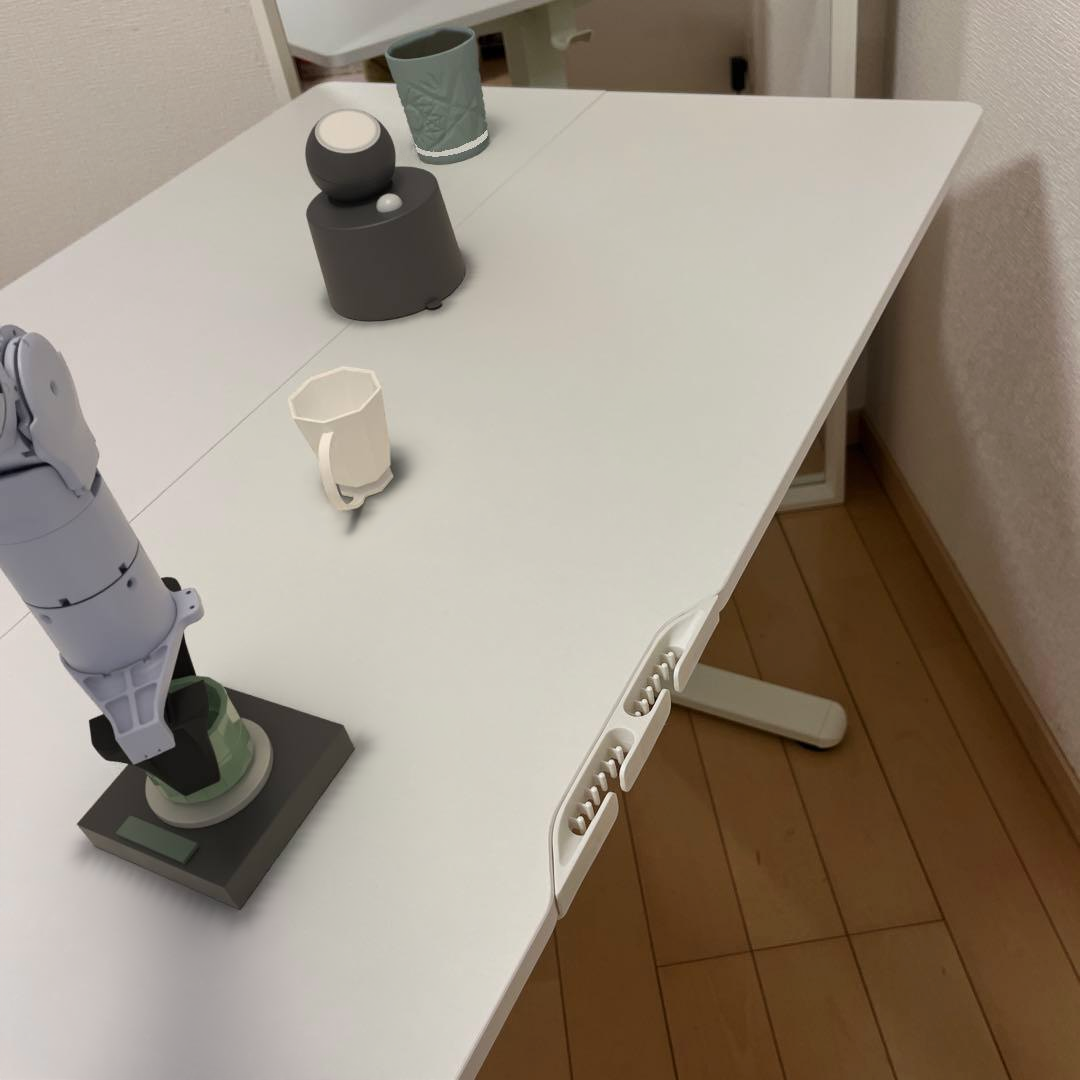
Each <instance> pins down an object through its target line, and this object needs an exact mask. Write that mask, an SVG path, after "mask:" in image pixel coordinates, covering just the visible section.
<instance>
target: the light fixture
mask: <svg viewBox="0 0 1080 1080" xmlns="http://www.w3.org/2000/svg"><path fill="white" fill-rule="evenodd" d="M396 153H397V152H396V147H395V144H394V141H393V137H392V136H391V134H390V133H389V131H388V129H387V128H386V126H385V125H383V123H381V121H380V120H379V119H377V117H375V116H374V115H372V114H371V113H368V112H367V111H364V110H361V109H356V108H341V109H337V110H332V111H330V112H328V113H326V114H325V115H323V116H322V117H321V118H320V119H319V120H318V121H316V123H315V124H314V125H313V127H312V128H311V130H310V132H309V134H308V136H307V139H306V143H305V152H304V157H305V162H306V167H307V170H308V173H309V175H310V177H311V179H312V182H313V183H314V184H315V185H316V187H317V188H318V189H319V190H320V192H319V193H318V194H316V196H314V198H313V199H311V201H310V202H309V203H308V205H307V208H306V210H305V211H306V212H305V217H306V221H307V224H308V228H309V232H310V235H311V240H312V242H313V246H314V249H315V253H316V256H317V260H318V264H319V267H320V272H321V274H322V278H323V281H324V282H323V283H324V285H325V288H326V292H327V293H326V294H327V296H328V300H329V303H330V305H331V307H332V309H333V310H334V311H335V312H336V313H337V314H339V315H341V316H343V317H345V318H349V319H352V320H357V321H368V322H369V321H385V320H391V319H397V318H401V317H406V316H409V315H412V314H415V313H418V312H421V311H423V310H425V309H427V308H428V309H435V308H438V307H440V306H441V305H442V303H443V302H442V300H444V299H446V298H447V297H449V296H450V295H451V294H452V293H453V292H454V291H455V290H456V289H457V288H458V287H459V286H460V284H461V283H462V281H463V279H464V276H465V273H466V266H465V263H464V259H463V256H462V252H461V251H460V246H459V244H458V241H457V237H456V234H455V231H454V228H453V226H452V221H451V219H450V216H449V213H448V209H447V206H446V202H445V199H444V198H443V194H442V191H441V188H440V185H439V182H438V179H437V177H436V176H435V175H434V174H433V173H432V172H431V171H428V170H426V169H424V168H420V167H416V166H403V165H402V166H399V165H398V166H397V165H396V161H397V159H396V157H397V156H396Z"/></svg>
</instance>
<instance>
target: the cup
mask: <svg viewBox="0 0 1080 1080" xmlns="http://www.w3.org/2000/svg"><path fill="white" fill-rule="evenodd" d="M287 403H288V407H289V410H290V414H291V417H292V419H293V421H294V423H295V424H296V426H297V428H298V429H299V431H300V432H301V434H302V436H303V437H304V439H305V441H306V442H307V443H308V445H309V447H310V449H311V450H312V452H313V453H314V455H315V457H316V458H317V460H318V464H319V472H320V476H321V477H320V478H321V480H322V483H323V488H324V490H325V493H326V496H327V499H328V502H330V504H331V506H332V507H333V509H335V510H337V511H349V510H355V509H358V508H360V507H361V506H363V504H364V503H365V500H366V498H367V497H370V496H372V495H375V494H378V493H381V492H383V491H384V490H385V488H386V487H387V486H388V485H389V484H390V482H391V481H392V480H393V479H394V474H393V472H392V469H391V467H390V466H392V465H391V440H390V436H389V435H390V434H389V428H388V423H387V417H386V410H385V404H384V397H383V391H382V387H381V384H380V382H379V380H378V377H377V374H376V372H375V370H374V369H368V368H360V367H353V366H345V365H343V366H339V367H336V368H335V369H331V370H328V371H325V372H322V373H319V374H316V375H312V376H310V377H308V378H307V379H306V380H305V381H304V382H303V383H302V384H301V385H299V387H298V388H297V389H295V391H294V392H293V393H292V394H290V396H289V397H288V398H287ZM337 485H338V486H337ZM338 488H339V489H338ZM339 491H340V493H341V495H342V496H344V497H350V498H352V501H351V502H350V503H345V502H344V500H343V498H342V497H341V495H340V493H339Z"/></svg>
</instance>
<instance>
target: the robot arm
mask: <svg viewBox="0 0 1080 1080" xmlns="http://www.w3.org/2000/svg"><path fill="white" fill-rule="evenodd" d="M96 443H97V440H96V437H95V435H94V434H93V432H92V430H91V429H90V426H89V425H88V424H87V421H86V419H85V416H84V414H83V411H82V407H81V403H80V398H79V394H78V392H77V387H76V384H75V381H74V378H73V375H72V373H71V371H70V368H69V366H68V364H67V361H66V360H65V358H64V356H63V354H62V352H61V351H57V349H56V348H55V346H54V345H53V344H52V343H51V342H50V341H49V339H47V338H46V337H45V336H43V335H42V334H40V333H38V332H33V331H31V332H26V331H25V330H24V329H23V328H21V327H19V326H18V325H14V324H5V325H0V570H1V572H2V573H3V574H4V576H5V577H6V578H7V580H8V581H9V583H10V584H11V586H12V587H13V588H14V590H15V591H16V593H17V594H18V596H19V597H20V598H21V600H22V601H23V603H24V604H25V606H26V607H27V609H28V610H29V611H30V613H31V614H32V615H33V617H34V618H35V620H36V621H37V622H38V624H39V625H40V627H41V629H42V630H43V631H44V632H45V634H46V635H47V636H48V638H49V639H50V641H51V642H52V644H53V645H54V646H55V648H56V649H57V651H58V656H59V659H60V663H61V664H62V666H63V668H64V669H65V671H66V672H67V673H68V674H69V676H70V677H71V678H72V679H73V680H74V682H75V683H76V684H77V685H78V686H79V687H80V688H81V690H82V691H83V692H84V693H85V695H86V696H88V698H89V699H90V700H91V701H92V702H93V703H94V705H95V706H96V707H97V708H98V710H99V711H100V712H101V713H102V714H100V715H97V716H94V717H92V718H90V719H89V720H88V726H89V735H90V741H91V745H92V747H93V748H94V750H95V751H96V752H97V754H98V755H99V756H100V757H101V758H102V759H103V760H105V761H108V762H113V763H120V764H126V765H128V764H130V765H133V766H136V767H139V768H141V769H143V770H145V771H147V772H149V773H151V774H152V775H154V776H155V777H157V778H158V779H160V780H161V781H163V782H164V783H165V784H167V785H168V786H170V787H171V788H173V789H174V790H175V791H177V792H179V793H180V794H182V795H184V796H188V795H190V794H193V793H195V792H197V791H199V790H202V789H204V788H206V787H208V786H211V785H213V784H215V783H217V782H219V781H220V780H221V778H220V771H219V766H218V762H217V758H216V755H215V752H214V749H213V746H212V743H211V741H210V738H209V735H208V732H207V725H208V719H209V698H208V694H207V690H206V686H205V682H204V679H203V680H200V681H198V682H196V683H193V684H191V685H189V686H186V687H184V688H182V689H179V690H177V691H175V692H172V693H169V691H168V690H169V686H170V682H171V680H174V679H178V678H183V677H187V676H192V675H193V676H197V673H196V669H195V666H194V664H193V661H192V656H191V655H190V651H189V648H188V646H187V642H186V637H185V630H186V629H187V627H189V626H191V625H192V624H195V623H197V622H200V621H201V620H202V618H203V617H204V616H205V609H204V606H203V601H202V597H201V596H200V594H199V592H198V590H197V589H196V588H194V587H187V588H183V589H182V586H181V584H180V582H179V581H178V579H177V578H176V577H172V576H164V577H161V575H160V574H159V572H158V571H157V569H156V568H155V567H156V566H154V564H153V562H152V560H151V559H150V557H149V555H148V553H147V552H146V550H145V548H144V547H143V544H142V543H141V541H140V540H139V538H138V537H137V536H138V535H136V533H135V531H134V529H133V527H132V526H131V524H130V522H129V520H128V518H127V516H126V515H125V514H124V512H123V510H122V508H121V507H120V505H119V503H118V502H117V500H116V498H115V497H114V495H113V492H112V491H111V490H110V487H109V486H108V484H107V482H106V480H105V479H104V477H103V476H102V474H101V472H100V470H99V468H98V464H99V460H100V450H99V448H98V447H97V444H96Z"/></svg>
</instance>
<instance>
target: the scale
mask: <svg viewBox="0 0 1080 1080" xmlns="http://www.w3.org/2000/svg"><path fill="white" fill-rule="evenodd" d="M223 687H224V689H225V691H226V692H227V694H228V696H229V697H230V699H231V701H232V703H233V704H234V706H235V708H236V710H237V711H238V713H239V715H240V717H241V718H242V720H243V722H244V724H245V725H246V727H247V729H248V731H249V733H250V735H251V737H252V739H253V742H254V744H253V757H252V759H251V761H250V763H249V765H248V767H247V769H246V771H245V773H244V775H243V776H242V777H241V779H240V780H239V781H238V782H237V783H236V784H235V785H234V786H233V787H232V788H231V789H229V790H228V791H227V792H225V793H224V794H222V795H220V796H218V797H216V798H214V799H211V800H208V801H205V802H200V803H192V804H191V803H190V804H186V803H179V802H173V801H170V800H169V799H167V798H166V797H164V796H163V795H162V794H160V793H159V791H158V790H157V788H156V787H155V785H154V784H153V783H152V781H151V780H150V778H149V777H148V775H147V774H146V773H145V771H144V770H143V769H141V768H139V767H136V766H133V765H130V764H126V766H125V767H124V768H123V769H122V771H121V772H120V773H119V774H118V776H116V778H114V780H113V781H112V782H111V783H110V785H109V786H107V788H106V789H105V790H104V792H102V794H101V795H100V796H99V797H98V798H97V800H96V801H95V802H94V803H93V804H92V805H91V806H90V807H89V809H88V810H87V811H86V813H84V815H83V816H82V817H81V818H80V820H78V821H77V823H76V825H77V826H78V828H79V829H80V830H81V832H82V833H83V834H84V835H85V837H86V838H87V839H88V840H89V841H90V843H91V844H92V845H93V846H94V847H96V848H98V849H100V850H103V851H105V852H107V853H110V854H113V855H114V856H117V857H119V858H121V859H124V860H126V861H128V862H130V863H132V864H135V865H138V866H139V867H142V868H144V869H146V870H148V871H150V872H153V873H155V874H158V875H160V876H162V877H165V878H167V879H169V880H171V881H174V882H175V883H178V884H181V885H183V886H185V887H187V888H190V889H191V890H193V891H196V892H199V893H201V894H203V895H206V896H207V897H210V898H212V899H214V900H217V901H219V902H221V903H224V904H226V905H228V906H231V907H233V908H235V909H237V910H241V909H242V907H243V906H244V904H245V903H246V902H247V900H248V899H249V897H250V896H251V895H252V894H253V892H254V891H255V889H256V887H257V886H258V885H259V883H260V882H261V881H262V879H263V878H264V876H266V873H267V872H268V871H269V869H270V868H271V867H272V865H273V864H274V862H275V861H276V860H277V858H278V857H279V855H280V854H281V852H282V851H283V850H284V848H285V847H286V845H287V844H288V842H289V841H290V840H291V838H292V837H293V835H295V833H296V831H297V830H298V828H299V827H300V826H301V824H302V823H303V822H304V820H305V818H306V817H307V816H308V815H309V813H310V811H311V810H312V809H313V807H314V806H315V804H316V803H317V801H319V799H320V798H321V796H322V795H323V793H324V792H325V791H326V789H327V788H328V786H329V785H330V784H331V782H332V781H333V780H334V778H335V777H336V776H337V773H338V772H339V770H341V768H342V766H343V765H344V764H345V763H346V761H347V760H348V758H349V757H350V755H351V754H352V753H353V751H354V750H355V746H354V744H353V742H352V740H351V738H350V736H349V734H348V731H347V729H346V727H345V725H344V724H342V723H338V722H336V721H332V720H329V719H327V718H323V717H320V716H317V715H314V714H311V713H308V712H306V711H305V712H304V711H302V710H298V709H295V708H292V707H289V706H285V705H283V704H281V703H280V704H279V703H277V702H273V701H271V700H267V699H264V698H261V697H258V696H255V695H252V694H249V693H245V692H243V691H240V690H236V689H234V688H230V687H227V686H224V685H223Z"/></svg>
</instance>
